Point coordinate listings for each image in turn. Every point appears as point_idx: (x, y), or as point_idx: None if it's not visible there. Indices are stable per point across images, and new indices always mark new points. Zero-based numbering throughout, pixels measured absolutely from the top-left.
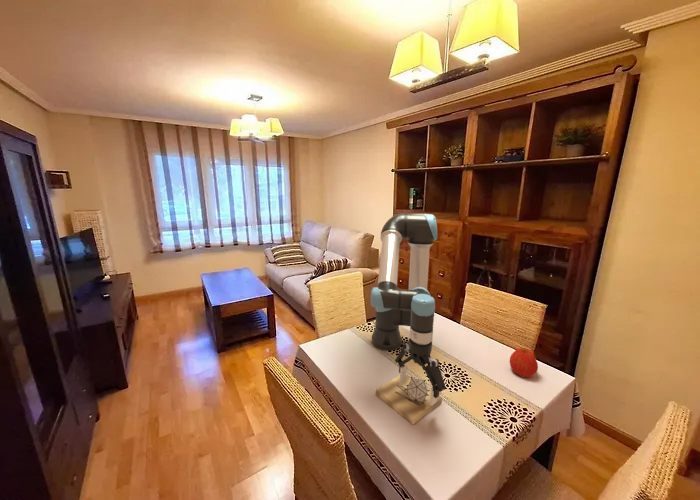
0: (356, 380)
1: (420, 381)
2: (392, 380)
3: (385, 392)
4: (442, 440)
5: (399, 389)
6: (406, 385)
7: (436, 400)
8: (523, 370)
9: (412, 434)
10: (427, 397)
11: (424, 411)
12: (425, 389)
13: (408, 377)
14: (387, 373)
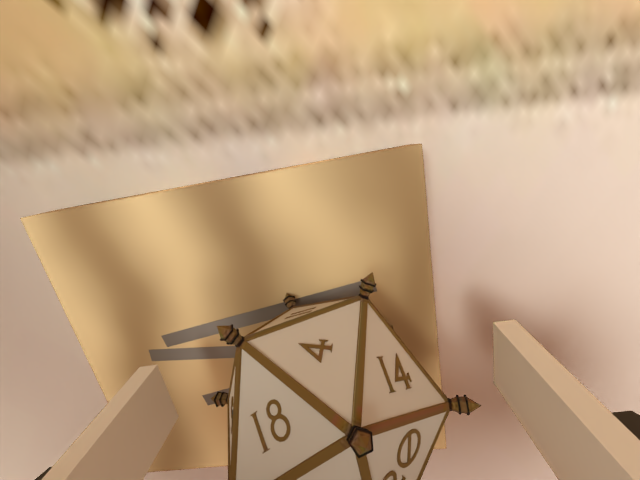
0: (32, 464)
1: (330, 473)
2: (94, 353)
3: (187, 447)
4: (607, 362)
5: (195, 368)
6: (218, 405)
7: (526, 332)
8: None
9: (475, 450)
10: (353, 252)
11: (437, 354)
12: (421, 421)
13: (94, 230)
14: (2, 292)
